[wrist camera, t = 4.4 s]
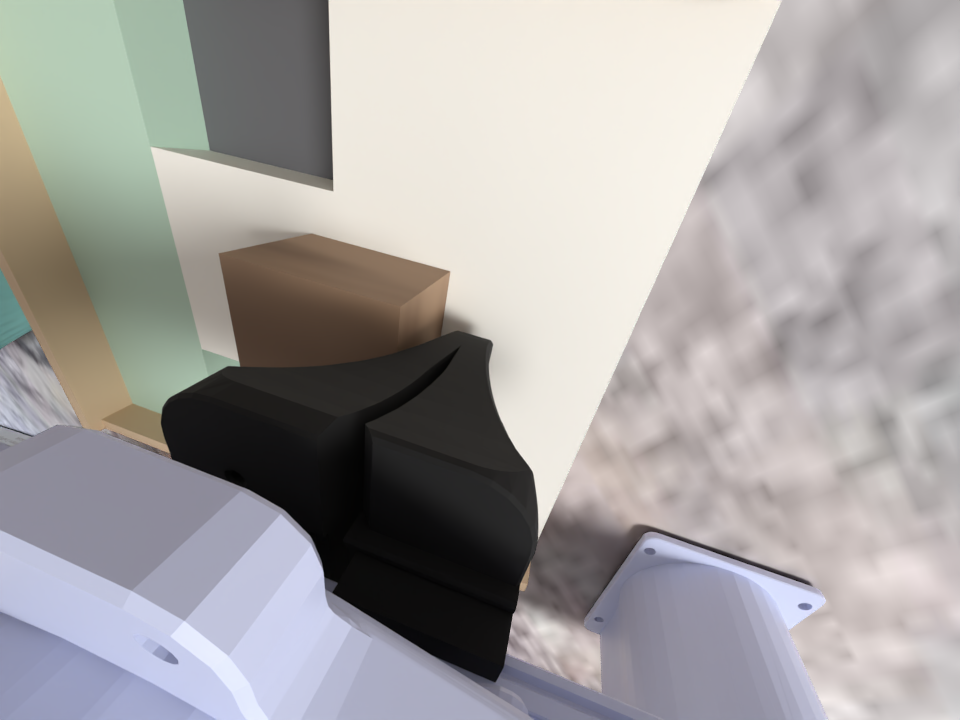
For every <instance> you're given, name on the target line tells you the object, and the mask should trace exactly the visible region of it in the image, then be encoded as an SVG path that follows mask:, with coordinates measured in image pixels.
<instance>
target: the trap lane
mask: <svg viewBox="0 0 960 720" xmlns="http://www.w3.org/2000/svg"><path fill="white" fill-rule="evenodd" d="M781 1H782V0H0V269H1V271H2V272H3V274H4V276H5V278H6V280H7V282H8V284H9V286H10V288H11V290H12V292H13V294H14V296H15V297H16V299H17V301H18V303H19V305H20V307H21V309H22V311H23V313H24V315H25V317H26V319H27V321H28V323H29V324H30V326H31V328H32V330H33V332H34V334H35V336H36V338H37V340H38V342H39V344H40V346H41V348H42V349H43V351H44V353H45V355H46V357H47V359H48V361H49V363H50V365H51V367H52V369H53V371H54V373H55V374H56V376H57V378H58V380H59V382H60V384H61V386H62V388H63V390H64V392H65V394H66V396H67V398H68V400H69V401H70V403H71V405H72V407H73V409H74V411H75V413H76V415H77V417H78V419H79V421H80V423H81V425H82V426H83V428H86V429H92V430H98V431H101V430H103V429H105V428H106V429H109V430H111V431H114V432H116V433H119V434H121V435H124V436H126V437H129V438H132V439H134V440H137V441H139V442H142V443H144V444H147V445H150V446H152V447H155V448H157V449H160V450H162V451H165V452H167V453H170V452H169V449H168V446H167V444H166V441H165V438H164V435H163V431H162V427H161V415H162V407H163V406H164V404H165V403H166V401H167V400H168V398H170V397H172V396H173V395H175V394H177V393H179V392H181V391H183V390H184V389H186V388H188V387H190V386H192V385H194V384H195V383H197V382H199V381H201V380H203V379H205V378H207V377H208V376H210V375H212V374H214V373H216V372H218V371H219V370H221V369H223V368H225V367H227V366H239V367H240V363H239V358H238V352H237V347H236V342H235V337H234V332H233V326H232V321H231V316H230V311H229V305H228V300H227V295H226V290H225V285H224V279H223V274H222V269H221V264H220V258H219V253H222V252H227V251H232V250H237V249H241V248H246V247H251V246H255V245H260V244H265V243H269V242H274V241H279V240H283V239H288V238H293V237H298V236H302V235H307V234H316V235H319V236H323V237H327V238H330V239H334V240H338V241H341V242H345V243H349V244H352V245H356V246H359V247H363V248H367V249H370V250H374V251H378V252H381V253H385V254H389V255H392V256H396V257H400V258H403V259H407V260H411V261H414V262H418V263H422V264H425V265H429V266H433V267H436V268H440V269H444V270H447V271H450V278H449V285H448V292H447V298H446V305H445V312H444V319H443V326H442V332H441V336H443V335H446V334H448V333H451V332H454V331H457V330H458V331H461V332H465V333H468V334H472V335H475V336H478V337H482V338H485V339H489V340H491V341H492V343H493V348H492V352H491V357H490V361H489V376H490V383H491V389H492V394H493V398H494V401H495V405H496V408H497V411H498V414H499V416H500V419H501V421H502V423H503V425H504V427H505V429H506V432H507V434H508V436H509V438H510V440H511V441H512V443H513V445H514V446H515V448H516V450H517V451H518V452H519V454H520V455H521V456H522V458H523V459H524V460H525V462H526V463H527V464H528V466H529V467H530V468H531V470H532V472H533V475H534V481H535V488H536V495H537V504H538V539H539V536H540V534H541V532H542V530H543V528H544V525H545V523H546V521H547V519H548V517H549V514H550V512H551V510H552V508H553V505H554V503H555V501H556V499H557V497H558V494H559V492H560V490H561V488H562V486H563V483H564V481H565V479H566V477H567V475H568V472H569V470H570V468H571V466H572V463H573V461H574V459H575V457H576V455H577V452H578V450H579V448H580V446H581V444H582V441H583V439H584V437H585V435H586V432H587V430H588V428H589V426H590V424H591V421H592V419H593V417H594V415H595V413H596V410H597V408H598V406H599V404H600V402H601V399H602V397H603V395H604V393H605V390H606V388H607V386H608V384H609V382H610V379H611V377H612V375H613V373H614V371H615V368H616V366H617V364H618V362H619V360H620V357H621V355H622V353H623V351H624V348H625V346H626V344H627V342H628V340H629V337H630V335H631V333H632V331H633V329H634V326H635V324H636V322H637V320H638V318H639V315H640V313H641V311H642V309H643V306H644V304H645V302H646V300H647V298H648V295H649V293H650V291H651V289H652V287H653V284H654V282H655V280H656V278H657V276H658V273H659V271H660V269H661V267H662V264H663V262H664V260H665V258H666V256H667V253H668V251H669V249H670V247H671V245H672V242H673V240H674V238H675V236H676V234H677V231H678V229H679V227H680V225H681V222H682V220H683V218H684V216H685V214H686V211H687V209H688V207H689V205H690V203H691V200H692V198H693V196H694V194H695V192H696V189H697V187H698V185H699V183H700V180H701V178H702V176H703V174H704V172H705V169H706V167H707V165H708V163H709V161H710V158H711V156H712V154H713V152H714V149H715V147H716V145H717V143H718V141H719V138H720V136H721V134H722V132H723V130H724V127H725V125H726V123H727V121H728V119H729V116H730V114H731V112H732V110H733V107H734V105H735V103H736V101H737V99H738V96H739V94H740V92H741V90H742V88H743V85H744V83H745V81H746V79H747V77H748V74H749V72H750V70H751V68H752V65H753V63H754V61H755V59H756V57H757V54H758V52H759V50H760V48H761V46H762V43H763V41H764V39H765V37H766V35H767V32H768V30H769V28H770V26H771V23H772V21H773V19H774V17H775V15H776V12H777V10H778V8H779V6H780V4H781ZM530 565H531V562H530V564H529V566H528V568H527V571H526V573H525V575H524V577H523V579H522V581H521V584H520V588H519V590H521V591H525V589H526V587H527V585H528V579H529V572H530Z"/></svg>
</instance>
